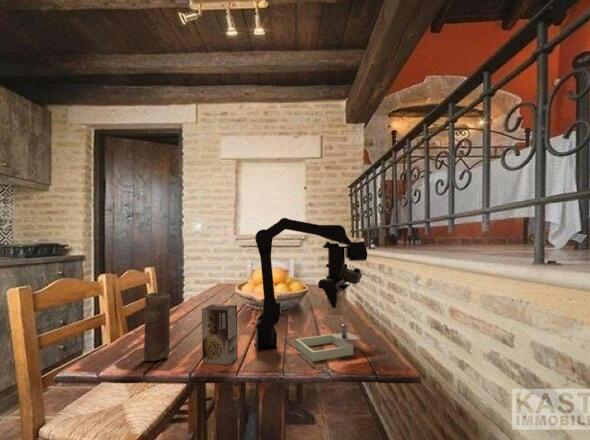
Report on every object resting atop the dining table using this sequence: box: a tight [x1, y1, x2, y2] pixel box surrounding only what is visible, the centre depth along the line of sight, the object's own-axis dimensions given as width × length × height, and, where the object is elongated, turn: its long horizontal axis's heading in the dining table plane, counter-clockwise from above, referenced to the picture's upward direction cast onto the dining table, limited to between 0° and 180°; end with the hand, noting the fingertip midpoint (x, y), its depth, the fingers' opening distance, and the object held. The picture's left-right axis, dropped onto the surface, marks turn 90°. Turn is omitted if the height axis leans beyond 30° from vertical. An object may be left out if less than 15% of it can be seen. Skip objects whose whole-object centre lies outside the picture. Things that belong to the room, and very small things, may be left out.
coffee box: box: [201, 304, 239, 365], centre depth 103 cm, size 9×6×16 cm
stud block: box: [332, 323, 360, 342], centre depth 120 cm, size 8×8×5 cm
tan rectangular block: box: [326, 289, 347, 317], centre depth 116 cm, size 5×5×8 cm
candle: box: [143, 292, 171, 362], centre depth 105 cm, size 8×7×20 cm
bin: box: [295, 333, 354, 366], centre depth 106 cm, size 14×14×4 cm
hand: (336, 306), depth 116 cm, fingers closed on tan rectangular block, 5 cm apart
